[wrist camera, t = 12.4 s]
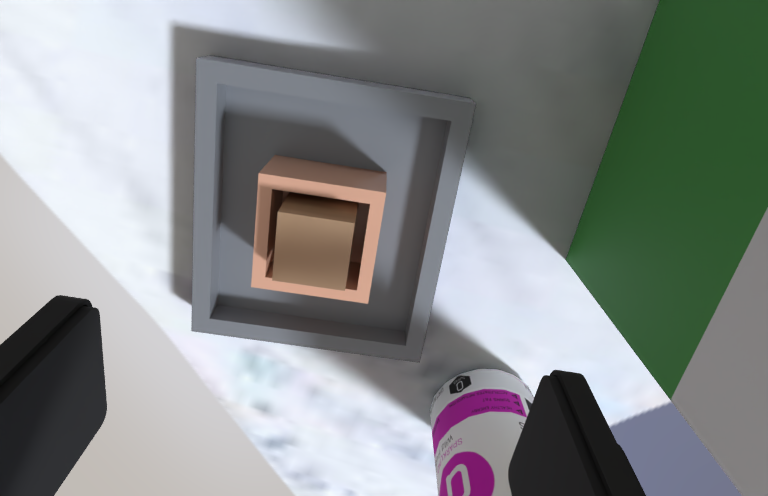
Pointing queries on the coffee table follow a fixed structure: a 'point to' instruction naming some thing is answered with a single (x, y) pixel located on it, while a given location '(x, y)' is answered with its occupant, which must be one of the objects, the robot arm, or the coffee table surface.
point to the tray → (335, 146)
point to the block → (314, 241)
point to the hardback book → (692, 224)
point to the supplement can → (477, 431)
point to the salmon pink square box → (322, 182)
